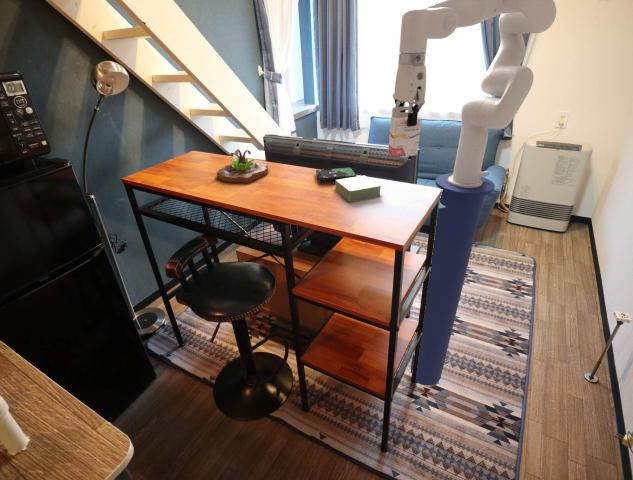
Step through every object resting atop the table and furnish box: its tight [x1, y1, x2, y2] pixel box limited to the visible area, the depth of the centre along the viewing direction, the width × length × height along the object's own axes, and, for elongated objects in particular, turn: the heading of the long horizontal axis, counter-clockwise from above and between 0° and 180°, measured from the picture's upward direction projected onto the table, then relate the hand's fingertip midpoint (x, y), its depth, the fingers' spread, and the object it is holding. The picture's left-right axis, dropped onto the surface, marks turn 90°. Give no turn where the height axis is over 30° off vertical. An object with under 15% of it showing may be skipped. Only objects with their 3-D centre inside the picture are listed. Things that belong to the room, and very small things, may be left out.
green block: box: [335, 175, 382, 203], centre depth 125 cm, size 12×12×4 cm
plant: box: [216, 149, 269, 184], centre depth 143 cm, size 20×20×11 cm
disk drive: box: [315, 167, 357, 185], centre depth 139 cm, size 10×3×15 cm
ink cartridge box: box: [387, 105, 423, 158], centre depth 110 cm, size 9×5×15 cm, turn 100°
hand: (405, 123), depth 109 cm, fingers closed on ink cartridge box, 5 cm apart
